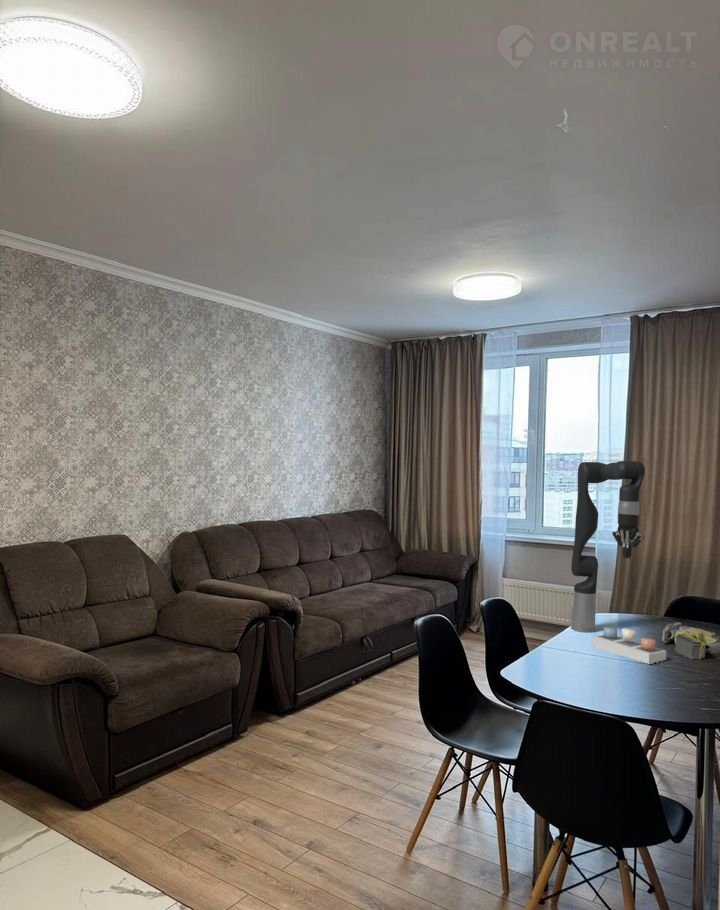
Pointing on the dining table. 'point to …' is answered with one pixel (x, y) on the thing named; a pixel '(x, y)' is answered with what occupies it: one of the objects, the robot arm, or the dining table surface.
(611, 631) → the slate button
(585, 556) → the robot arm
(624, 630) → the cream button
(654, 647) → the terracotta button
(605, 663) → the dining table surface
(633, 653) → the console
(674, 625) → the circular saw
